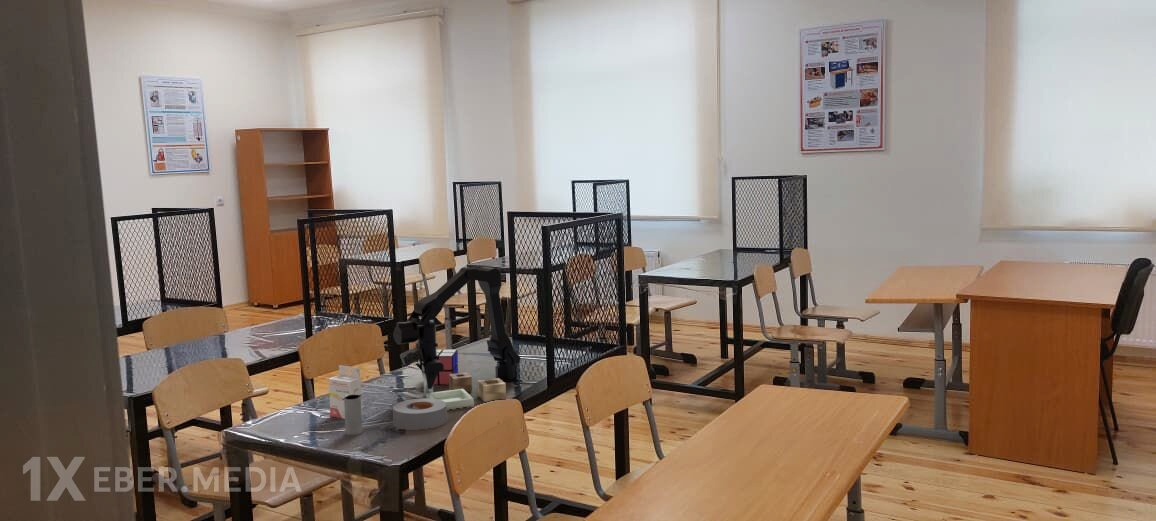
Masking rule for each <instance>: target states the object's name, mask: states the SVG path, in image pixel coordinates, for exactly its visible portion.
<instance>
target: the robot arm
mask: <svg viewBox="0 0 1156 521" xmlns="http://www.w3.org/2000/svg"><path fill="white" fill-rule="evenodd" d="M502 278H503V277H502V273H501V271H500V269H497V268H495V267H488V266H481V267H480V268H473V267H468V266H467V267H466V266H463V267H461V268H459V271H457V272H456V273H455V274H454V275H453V276H452V277H451V278H449V280H447V281H446V282H445V283H444V284H443V285H442V286H440V287H439V288H438V289H437V290H436V291H435V292H433V293H432V294H428V295H425V296H424V297H423V298H421V299H419V300H418V301H417V302H416V303H415V304H414V306H413V307H414V308H413V310H412V312H411V314H410V315H409V317H408V318H407V321H403V322H402V321H399V322H396V324H395V327H394V330H393V333H392V335H393V340H394V342H395V343H396V345H404V344H411V343H415V347H413V348H411V349H408V350H406V351H404V352H402V353H400V354H399V357H400V359H401V362H402V363H403V365H404V366H405V367H408V366H410V365H411V364H413V363H415V366H417V368H419V370H420V371H421V374H422V378H423V379H424V376H423V373H425V377H426V382H427V386H428V389H432V387H433V388H434V385H433V384H434V382H435V379H436V377H437V375H438V373H439V372H440V371H444V364H442V363H441V362H440V361H439V360H436V359H438V356H437V352H436V350H437V348H438V347H439V346H438V345H439V344H438V342H437V333H436V332H437V327H436V326H439V325H440V326H441V325H443V322H442V321H440V320H439V319H438V318H437V317H438V315H439V314H440V313H441V311H442V310H443V308H444V305H445V304H446V303H447V302H448V301H449V300H450V299H451V298H452V297H454V295H456V294H457V293H458V292H459V291H460V290H462V289H463V288H464V287H465V285H467V284H468V283H469V282H470V281H477V282H478V285H479V288H480V290H481V291H482V292H483V294H484V297H485V303H486V308H487V315H488V320H489V326H490V327H489V328H490V332H491V336H490V338H489V339H487V340H486V344H487V352H489V354H490V355H491V356H492V358H493V359H494V361H495V362H496V366H495V369H494V370H495V379H496V378H499V379H501V380H502V381H503V382H504V383H507V382H515V381H519V380H520V379H519V378H518V364H520V362H521V356H520V355H519V354H518V353H517V352H516V351H515V349H514V345H513V342H512V340H511V338H510V337H509V335H508V334H507V332H506V325H505V320H504V314H503V308H502V302H501V297H500V291H501V288H502V285H503V284H502V283H503V282H502Z"/></svg>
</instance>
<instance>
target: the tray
mask: <svg viewBox="0 0 1156 521" xmlns="http://www.w3.org/2000/svg"><path fill="white" fill-rule="evenodd" d="M425 398H432V399H439V400H442V401H444V402H445V403H446V409H447V411H450V410H449V409H452V410H456V409H455V408H460V409H463V408H462V407H467V406H472V407H471V408H473V407H475V406H474V405H475V404H474V402H475V399H474V398H473V397H472V396H471V394H469V392H466V391H465V390H464V389H457V390H450V389H449V390H443V391H435V392H433V393H426V396H425ZM467 408H468V407H467Z"/></svg>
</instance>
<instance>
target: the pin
mask: <svg viewBox="0 0 1156 521" xmlns="http://www.w3.org/2000/svg"><path fill="white" fill-rule="evenodd" d="M423 376H424V378H423V396H424V397H426V393H433V392H434V386H433V387H432V389H428V386H427V382H426V377H425V373H423V374H422V377H423Z"/></svg>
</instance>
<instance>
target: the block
mask: <svg viewBox="0 0 1156 521" xmlns="http://www.w3.org/2000/svg"><path fill="white" fill-rule="evenodd" d="M472 378H473V377H472V375H470V374H469V373H468V372H466V371H465V372H458V373H457V374H449V385H448V388H449V390H457V389H464V390H465V391H466V392H467V393H471V392H470V391H472V392H473V379H472Z"/></svg>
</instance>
